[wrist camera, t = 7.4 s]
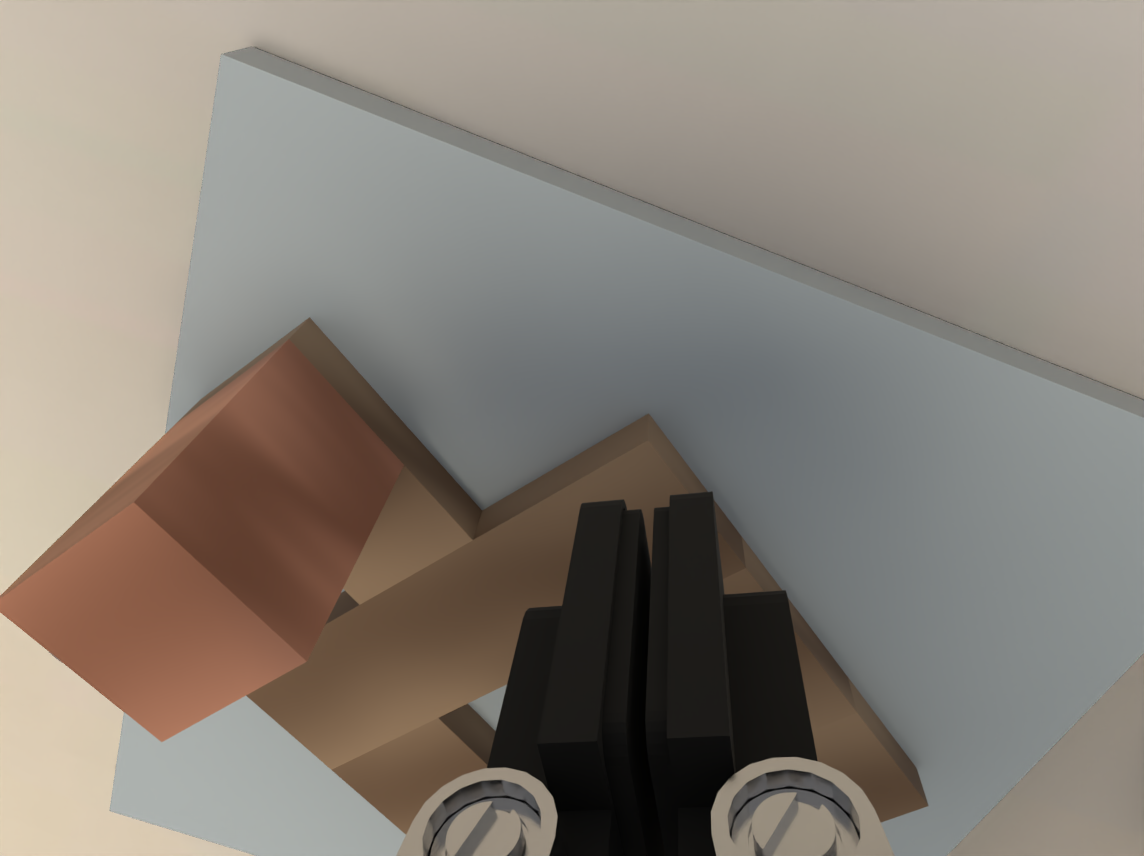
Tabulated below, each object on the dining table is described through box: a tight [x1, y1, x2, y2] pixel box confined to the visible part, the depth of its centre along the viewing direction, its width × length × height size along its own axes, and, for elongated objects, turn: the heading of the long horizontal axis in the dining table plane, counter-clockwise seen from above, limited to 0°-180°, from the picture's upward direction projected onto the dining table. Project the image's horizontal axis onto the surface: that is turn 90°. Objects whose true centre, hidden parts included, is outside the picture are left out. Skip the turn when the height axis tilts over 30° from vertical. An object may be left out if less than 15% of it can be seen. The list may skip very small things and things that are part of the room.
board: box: [110, 47, 1144, 856], centre depth 17 cm, size 20×20×7 cm
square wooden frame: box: [0, 317, 929, 834], centre depth 16 cm, size 16×11×6 cm
